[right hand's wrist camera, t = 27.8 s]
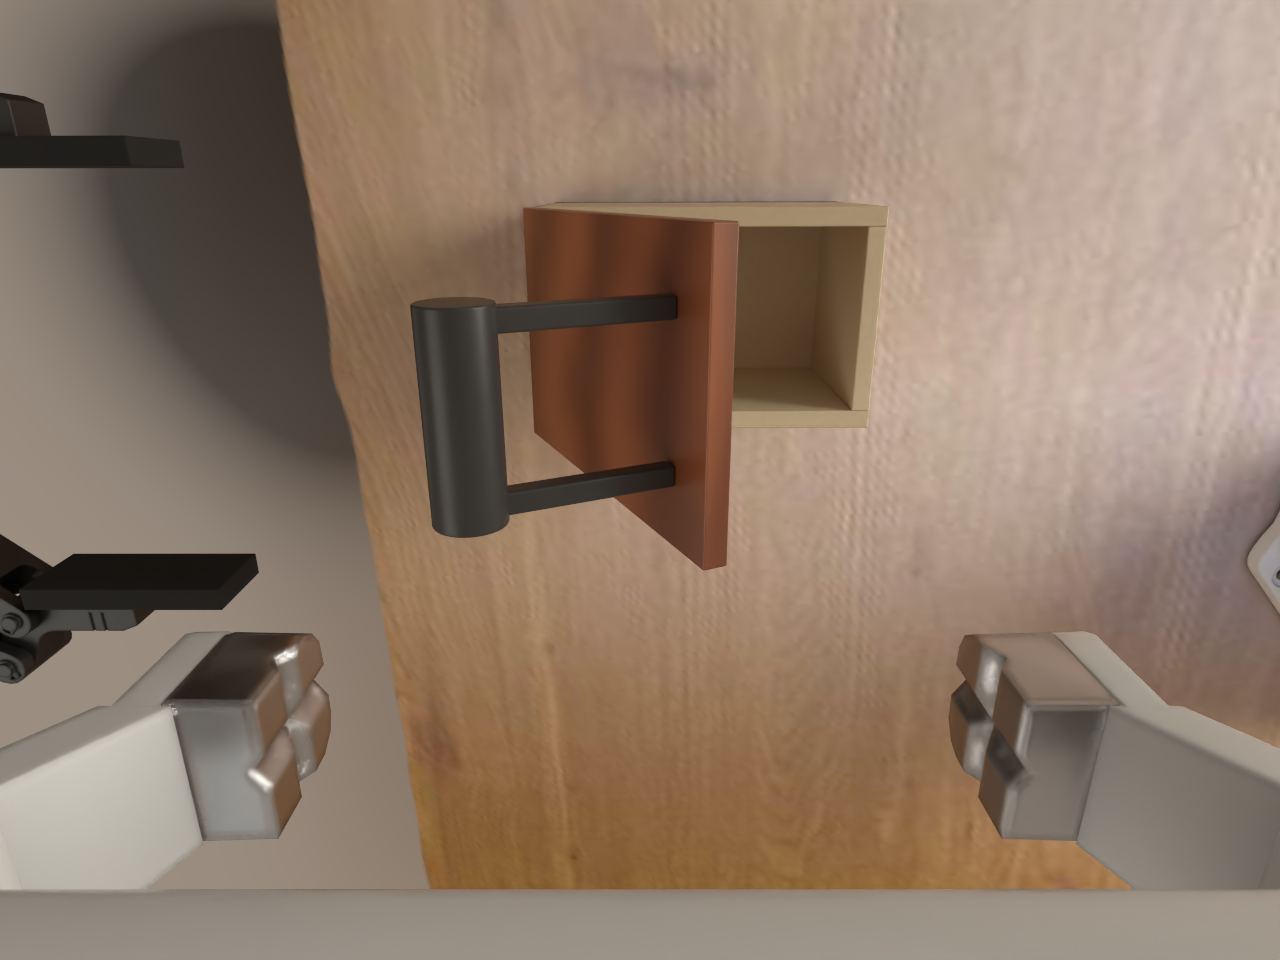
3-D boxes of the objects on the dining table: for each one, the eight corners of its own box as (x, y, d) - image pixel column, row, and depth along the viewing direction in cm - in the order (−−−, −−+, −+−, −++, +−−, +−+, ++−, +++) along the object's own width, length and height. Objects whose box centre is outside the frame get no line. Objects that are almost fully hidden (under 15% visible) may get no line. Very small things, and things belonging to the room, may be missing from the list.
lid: (740, 220, 21) (420, 228, 18) (727, 566, 25) (457, 626, 21) (541, 207, 35) (339, 210, 32) (550, 430, 38) (370, 454, 35)
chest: (834, 201, 45) (889, 206, 35) (821, 378, 48) (867, 427, 39) (556, 202, 45) (533, 207, 35) (563, 379, 48) (543, 428, 39)
